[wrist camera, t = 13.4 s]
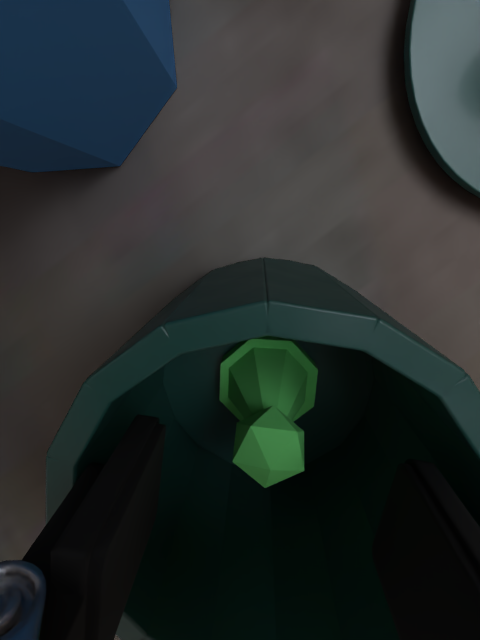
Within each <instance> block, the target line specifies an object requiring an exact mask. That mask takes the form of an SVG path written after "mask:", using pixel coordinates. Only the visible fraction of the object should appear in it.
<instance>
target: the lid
mask: <svg viewBox="0 0 480 640" xmlns="http://www.w3.org/2000/svg"><path fill="white" fill-rule="evenodd" d="M404 70H405V84H406V89H407V95H408V100H409V105H410V109H411V112H412V115H413V118H414V121H415V124H416V127H417V129H418V131H419V133H420V135H421V137H422V139H423V142H424V144H425V146H426V147H427V149H428V150H429V152H430V153H431V155H432V156H433V158H434V159H435V161H436V162H437V163H438V164H439V165H440V167H441V168H442V169H443V170H444V171H445V172H446V173H447V174H448V175H449V176H450V177H451V178H452V179H453V180H454V181H455V182H457V183H458V184H459V185H460V186H462V187H463V188H464V189H465V190H467V191H469V192H470V193H472V194H474V195H476V196H477V197H479V198H480V0H411V2H410V7H409V13H408V18H407V24H406V30H405V44H404Z"/></svg>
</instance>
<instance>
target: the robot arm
mask: <svg viewBox="0 0 480 640" xmlns="http://www.w3.org/2000/svg"><path fill="white" fill-rule="evenodd" d="M165 433H166V425H164V424H159V418H157V417H151V416H145V415H139V414H138V415H137V416H136V417H135V418H134V420H133V421H132V423H131V425H130V426H129V428H128V429H127V431H126V433H125V434H124V436H123V437H122V439H121V441H120V442H119V444H118V445H117V447H116V448H115V450H114V452H113V453H112V455H111V456H110V458H109V460H108V461H107V463H106V464H101V463H95V462H92V463H90V464H89V465H88V466H87V467H86V469H85V470H84V472H83V473H82V474H81V476H80V477H79V479H78V480H77V482H76V483H75V484H74V486H73V487H72V489H71V490H70V492H69V493H68V494H67V496H66V497H65V499H64V500H63V502H62V503H61V505H60V506H59V507H58V509H57V510H56V512H55V513H54V515H53V516H52V517H51V519H50V520H49V522H48V523H47V525H46V526H45V527H44V529H43V530H42V532H41V533H40V535H39V536H38V537H37V539H36V540H35V542H34V543H33V545H32V546H31V547H30V549H29V550H28V552H27V553H26V555H25V556H24V557H23V559H22V560H6V561H2V562H0V640H114V637H115V634H116V632H117V629H118V626H119V623H120V620H121V617H122V614H123V611H124V609H125V606H126V603H127V600H128V597H129V594H130V591H131V588H132V586H133V583H134V580H135V577H136V574H137V571H138V568H139V565H140V563H141V560H142V557H143V554H144V551H145V548H146V545H147V542H148V540H149V537H150V534H151V531H152V528H153V525H154V522H155V518H156V514H157V508H158V499H159V489H160V480H161V470H162V461H163V452H164V442H165ZM372 557H373V561H374V564H375V567H376V570H377V573H378V576H379V579H380V582H381V585H382V588H383V591H384V594H385V597H386V600H387V603H388V606H389V609H390V612H391V615H392V618H393V621H394V624H395V627H396V630H397V633H398V636H399V639H400V640H480V527H479V526H478V524H477V523H476V521H475V520H474V519H473V517H472V516H471V514H470V513H469V512H468V510H467V509H466V507H465V506H464V505H463V503H462V502H461V501H460V499H459V498H458V496H457V495H456V494H455V492H454V491H453V489H452V488H451V487H450V485H449V484H448V482H447V481H446V480H445V478H444V477H443V475H442V474H441V473H440V471H439V470H438V468H437V467H436V466H435V465H434V464H433V463H432V462H428V461H422V460H416V459H407V460H406V461H405V463H400V464H399V465H398V467H397V469H396V473H395V476H394V479H393V482H392V485H391V488H390V491H389V494H388V497H387V501H386V504H385V507H384V510H383V513H382V516H381V519H380V522H379V526H378V529H377V532H376V535H375V538H374V541H373V545H372Z"/></svg>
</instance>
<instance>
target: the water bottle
mask: <svg viewBox="0 0 480 640" xmlns="http://www.w3.org/2000/svg"><path fill="white" fill-rule="evenodd" d="M176 88H177V81H176V71H175V60H174V49H173V38H172V27H171V16H170V5H169V0H0V166H4V167H9V168H14V169H18V170H23V171H28V172H32V173H33V172H47V171H60V170H74V169H88V168H102V167H116V166H121V164H122V163H123V162H124V160H125V159H126V157H127V156H128V155H129V153H130V152H131V150H132V149H133V148H134V146H135V145H136V144H137V142H138V141H139V139H140V138H141V137H142V135H143V134H144V133H145V131H146V130H147V128H148V127H149V126H150V124H151V123H152V122H153V120H154V119H155V117H156V116H157V115H158V113H159V112H160V110H161V109H162V108H163V106H164V105H165V104H166V102H167V101H168V99H169V98H170V97H171V95H172V94H173V93H174V91H175V90H176Z"/></svg>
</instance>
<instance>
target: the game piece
mask: <svg viewBox="0 0 480 640" xmlns="http://www.w3.org/2000/svg"><path fill="white" fill-rule="evenodd" d="M317 375H318V369H317V366H316V364H315V362H314V361H313V360H312V359H311V358H310V357H309V355H308V354H307V353H306V352H305V351H304V350H303V349H302V348H301V347H300V346H299V345H298V343H297V342H296V341H295V340H292V339H286V338H280V337H273V336H263V337H259V338H254V339H250V340H245V341H241V342H240V343H239V344H237V345H236V346H235V347H234V348H233V349H231V350H230V351H229V352H228V353H227V354H226V355H224V356H223V357H222V361H221V367H220V398H219V400H220V401H221V402H222V403H223V404H224V405H225V406H226V407H227V408H228V409H229V410H230V411H231V412H232V413H233V414H234V415H235V416H236V417H237V418H238V419H239V420H240V421H239V422H237V425H236V433H235V442H234V451H233V460H232V462H233V463H234V464H236V465H237V466H238V467H239V468H241V469H242V470H243V471H244V472H246V473H247V474H248V475H249V476H251V477H252V478H253V479H254V480H256V481H257V482H258V483H259V484H260V485H262V486H263V487H264V488H267V487H269V486H271V485H273V484H276V483H278V482H280V481H282V480H285V479H287V478H289V477H292V476H294V475H296V474H298V473H301V472H303V471H304V431H303V430H302V429H301V428H300V427H299V426H297V425H296V424H295V423H294V421H295V420H297V419H298V418H299V417H301V416H302V415H303V414H305V413H306V412H307V411H309V410H310V409H311V408H313V407H314V402H315V393H316V384H317Z"/></svg>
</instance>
